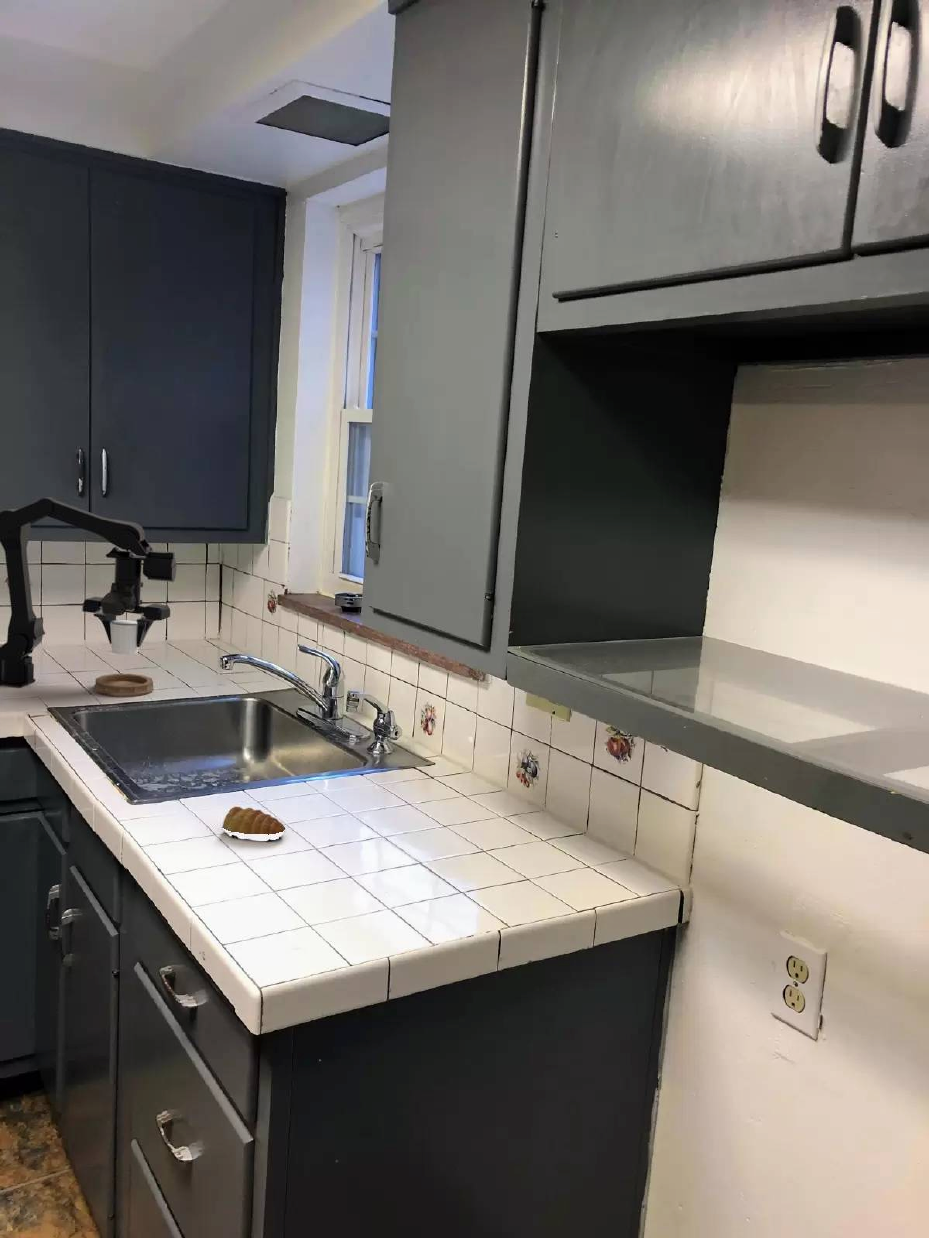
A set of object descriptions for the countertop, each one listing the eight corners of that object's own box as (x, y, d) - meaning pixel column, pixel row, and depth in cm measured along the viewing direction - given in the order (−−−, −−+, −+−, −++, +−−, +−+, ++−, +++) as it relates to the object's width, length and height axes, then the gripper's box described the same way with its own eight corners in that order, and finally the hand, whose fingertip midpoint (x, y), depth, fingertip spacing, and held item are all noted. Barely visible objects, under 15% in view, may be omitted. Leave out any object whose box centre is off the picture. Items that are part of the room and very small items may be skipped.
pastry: (291, 832, 155) (293, 810, 154) (273, 848, 149) (274, 825, 148) (237, 822, 157) (239, 799, 157) (217, 837, 151) (218, 814, 150)
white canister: (145, 650, 229) (146, 621, 228) (132, 656, 222) (134, 626, 221) (117, 647, 229) (118, 618, 228) (103, 652, 223) (104, 622, 221)
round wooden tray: (83, 692, 222) (83, 683, 221) (110, 680, 234) (110, 671, 234) (138, 699, 220) (138, 689, 220) (162, 686, 233) (163, 677, 233)
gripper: (70, 577, 216) (68, 647, 219) (152, 587, 214) (148, 656, 217) (95, 572, 227) (93, 638, 229) (172, 581, 225) (169, 647, 228)
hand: (125, 645), depth 226 cm, fingers closed on white canister, 6 cm apart
